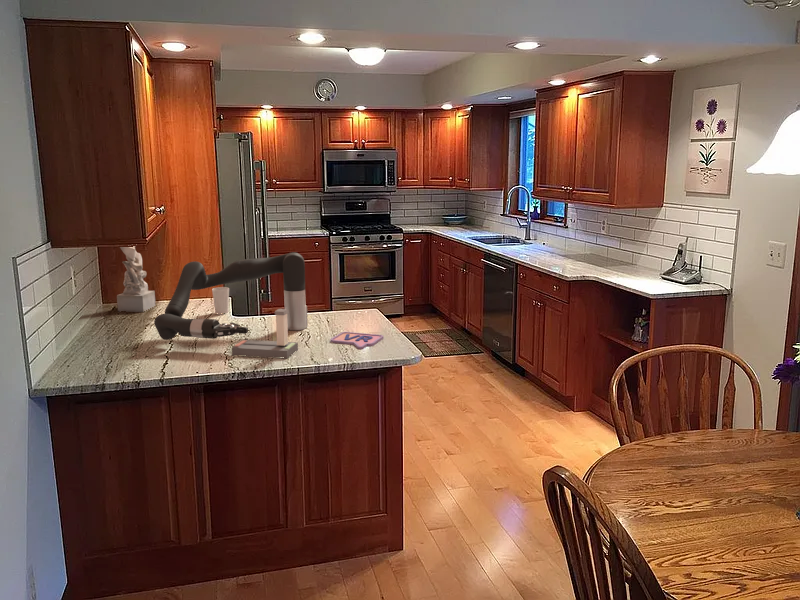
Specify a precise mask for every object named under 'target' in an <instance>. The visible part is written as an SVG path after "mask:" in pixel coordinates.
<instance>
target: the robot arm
mask: <svg viewBox="0 0 800 600" xmlns="http://www.w3.org/2000/svg"><path fill="white" fill-rule="evenodd" d="M305 263H306V262H305V258H304V257H303V255H302V254H300V253H298V252H288V253H285V254H281V255H276V256H272V257H258V258H245V259H240V260H235V261H233V262H231V263H230V264H228V265H226V267H225V268H223V269H221V270H220V271H218V272H215V273H210V274H207V273H206V269H205V267H204V265H203V264H202V263H201V262H199V261H190V262H187V263H186V264H185V265H184V266H183V268H182V270H181V272H180V273H181V274H180V276H179V279H178V282H177V285H176V287H175V290H174V293H173V295H172V297H171V298H170V299H169V302H168V303H167V306H166V308H165V309H164V313H162V314H159V315H157V316H156V317H155V319H154V326H155V329H156V330H157V333H158V335H159V336H160V338H161V339H162V340H165V341H168V340H172V339H174V338H175V337H176V336H177V335H179V336H181V337H186V338H187V337H188V338H198V339H214V340H215V339H218V337H219V338H221V337H222V338H223V337H228V336H234V335H237V334H241V335H242V334H247V333H248V332H249V328H248V326H240V324H238V323H235V322H229V323H221V322H220V321H219V320H218V319H216V318H215V319H213V318H185V317H183V315H184V314H185V312H186V311H187V309H188V307H189V306H188V305H189V303H190V297H191V293H192V292H191V291H193V290H194V291H197V290H198V291H199V290H204V289H209V288H212V287H216V286H221V285H226V284H227V285H228V284H233V283H241V282H248V281H254V280H258V279H261V278H264V277H267V276H271V275H275V274H282V275H283V276H282V277H283V296H284V297H283V299H284V300H283V301H284V302H283V303H284V309H288V313H287V324H288V331H289V330H290V331H301V330H305V329H306V328H307V327H308V326H309V325H308V306H307V305H306V304H307V303H306V299H307V298H306V268H305V267H306V265H305ZM220 323H221V324H220Z"/></svg>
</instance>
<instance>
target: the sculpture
mask: <svg viewBox="0 0 800 600" xmlns="http://www.w3.org/2000/svg"><path fill="white" fill-rule="evenodd" d="M119 249H120V250H121V251H122V252H123V254H124V255H125V259H126V260H127V261H126V260H125V261H122V262H121V263H122V264H123V265H124V267H125V268H126V271H125V272H124V278H123V279H124V280H123V286H124V289H123V291H122V293H119V294H117V295H116V301H117V302H116V303H117V304H116V305H117V312H121V311H126V313H127V312H128V313H130V312H131V313H133V312H136V313H144V311H145V312H147V311H149V310H151V309H153V308H155V307H154V306H156V292H155V290H149V285H148V283H147V282H146V281H145V280H144V278H146V277H147V271H146V270H143V268H144V267H143V257H142V254H141V253H140V252H137V250H136V246H133V247H119ZM152 307H153V308H152ZM150 308H151V309H150ZM148 309H149V310H148ZM146 310H147V311H146Z"/></svg>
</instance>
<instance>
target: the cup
mask: <svg viewBox="0 0 800 600" xmlns="http://www.w3.org/2000/svg"><path fill="white" fill-rule="evenodd" d="M211 292H212V297H213V305H214V314H215V313H218V314H217V315H222V314H221V313H228V312H229V302H230V301H229V297H230V288H229V287H227V286H226V287H225V286H219V287H214V288H212V289H211ZM229 313H230V312H229ZM229 313H228V314H229Z"/></svg>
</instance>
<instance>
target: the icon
mask: <svg viewBox="0 0 800 600" xmlns="http://www.w3.org/2000/svg"><path fill="white" fill-rule="evenodd" d="M329 340H330V343H332V342H333V343H332V344H339V345H340V344H341V345H342V344H343V345H351V346H352V345H353V346H354V345H355V346H354V347H355V348H356V349H358V350H364V349H366V348H367V347H373V346H375V345H377V344H378V343H379V342H381V341H383V340H384V335H383V334H377V333H376V334H375V333H366V332H363V333H362V332H354V331H352V332H351V331H342V332H340V333H338V334H337V335H335V336H333V337H331V338H330V339H329Z"/></svg>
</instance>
